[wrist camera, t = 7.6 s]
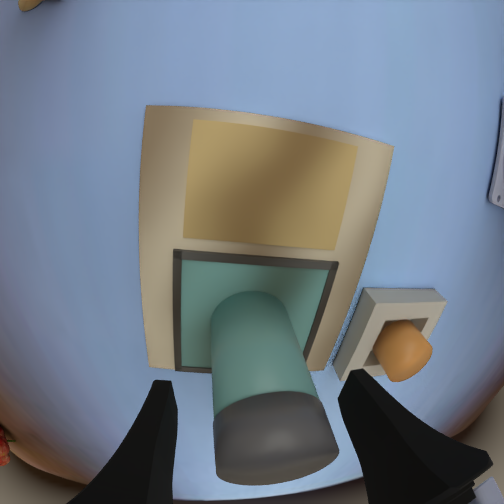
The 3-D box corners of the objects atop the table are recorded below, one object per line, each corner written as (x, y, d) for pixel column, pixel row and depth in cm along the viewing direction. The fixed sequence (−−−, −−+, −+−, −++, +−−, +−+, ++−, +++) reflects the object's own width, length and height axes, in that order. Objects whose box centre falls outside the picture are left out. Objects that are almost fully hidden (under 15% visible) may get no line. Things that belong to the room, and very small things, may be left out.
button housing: (434, 288, 16) (447, 301, 15) (400, 356, 19) (409, 369, 17) (363, 287, 15) (375, 303, 14) (332, 364, 18) (340, 380, 16)
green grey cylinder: (294, 289, 14) (357, 431, 7) (282, 349, 16) (320, 475, 8) (209, 289, 13) (214, 450, 6) (209, 351, 15) (217, 488, 8)
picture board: (387, 145, 12) (396, 147, 11) (321, 364, 18) (324, 372, 17) (149, 106, 10) (144, 104, 9) (150, 359, 16) (148, 369, 15)
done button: (420, 318, 16) (440, 340, 13) (401, 354, 17) (417, 377, 15) (384, 320, 15) (403, 346, 13) (365, 359, 16) (380, 385, 14)
